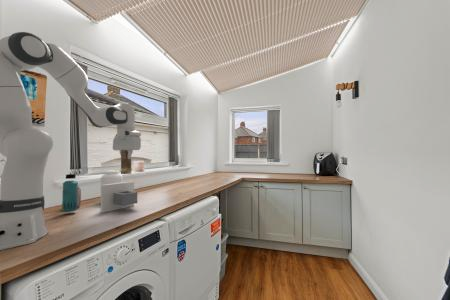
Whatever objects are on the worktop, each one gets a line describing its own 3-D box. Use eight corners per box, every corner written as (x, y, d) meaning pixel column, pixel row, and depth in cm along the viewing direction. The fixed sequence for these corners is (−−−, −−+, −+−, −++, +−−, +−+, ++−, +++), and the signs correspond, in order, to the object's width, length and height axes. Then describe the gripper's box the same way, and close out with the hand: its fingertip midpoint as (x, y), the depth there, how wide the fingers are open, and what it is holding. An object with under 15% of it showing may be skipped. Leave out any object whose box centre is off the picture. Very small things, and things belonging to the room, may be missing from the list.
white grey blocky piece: (113, 215, 105) (114, 186, 105) (100, 211, 111) (101, 184, 111) (144, 207, 120) (144, 182, 121) (131, 205, 126) (131, 181, 127)
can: (96, 202, 134) (97, 170, 134) (116, 199, 144) (116, 169, 145) (106, 205, 127) (107, 171, 127) (126, 201, 137) (126, 170, 138)
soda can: (72, 210, 115) (72, 187, 115) (61, 209, 116) (62, 187, 116) (83, 207, 121) (84, 186, 122) (73, 206, 123) (73, 185, 123)
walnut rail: (125, 174, 113) (125, 144, 113) (120, 173, 115) (120, 144, 115) (131, 173, 116) (131, 144, 116) (127, 173, 118) (127, 144, 118)
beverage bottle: (70, 211, 112) (71, 173, 112) (80, 212, 110) (81, 173, 111) (58, 214, 105) (59, 174, 106) (69, 215, 104) (70, 174, 105)
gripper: (109, 133, 118) (109, 158, 118) (132, 131, 108) (132, 159, 107) (120, 134, 124) (120, 158, 124) (143, 132, 113) (143, 158, 113)
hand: (126, 158), depth 115 cm, fingers closed on walnut rail, 4 cm apart
